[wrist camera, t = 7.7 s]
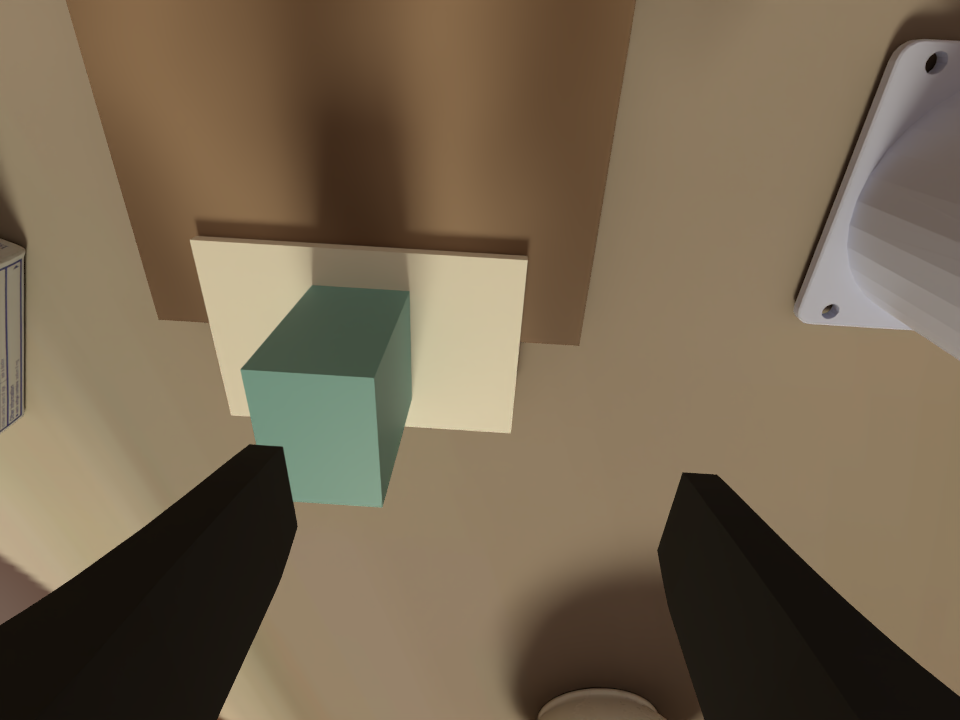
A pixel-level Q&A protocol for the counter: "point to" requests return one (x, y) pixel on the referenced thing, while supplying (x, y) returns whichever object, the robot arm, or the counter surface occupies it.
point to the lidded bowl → (599, 706)
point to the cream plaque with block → (360, 350)
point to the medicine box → (11, 333)
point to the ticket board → (363, 131)
